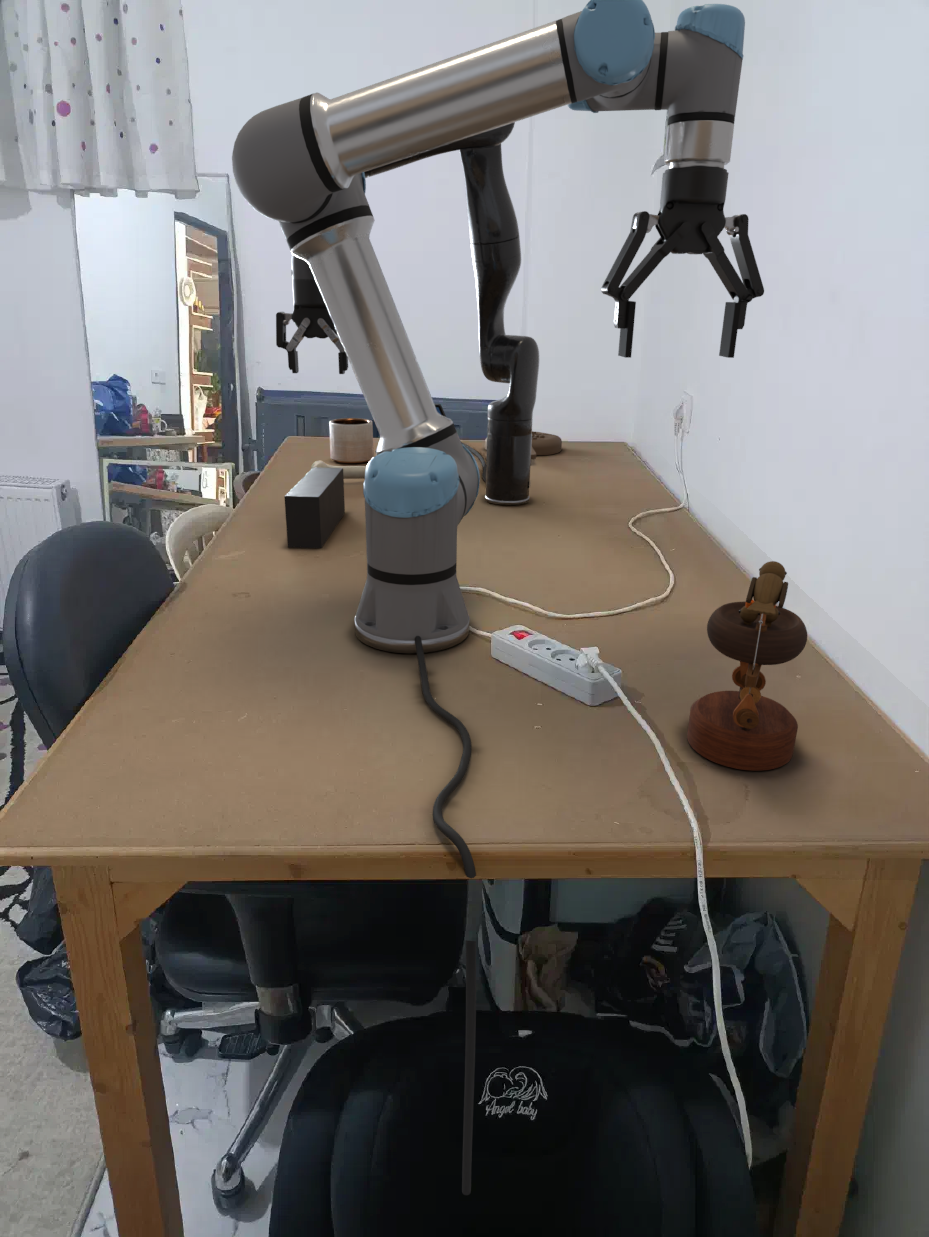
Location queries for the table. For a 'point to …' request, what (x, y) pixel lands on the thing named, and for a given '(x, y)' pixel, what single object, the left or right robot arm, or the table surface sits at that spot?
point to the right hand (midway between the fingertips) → (318, 373)
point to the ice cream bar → (543, 444)
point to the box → (314, 507)
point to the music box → (750, 679)
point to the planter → (351, 440)
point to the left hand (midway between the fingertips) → (675, 357)
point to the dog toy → (345, 470)
